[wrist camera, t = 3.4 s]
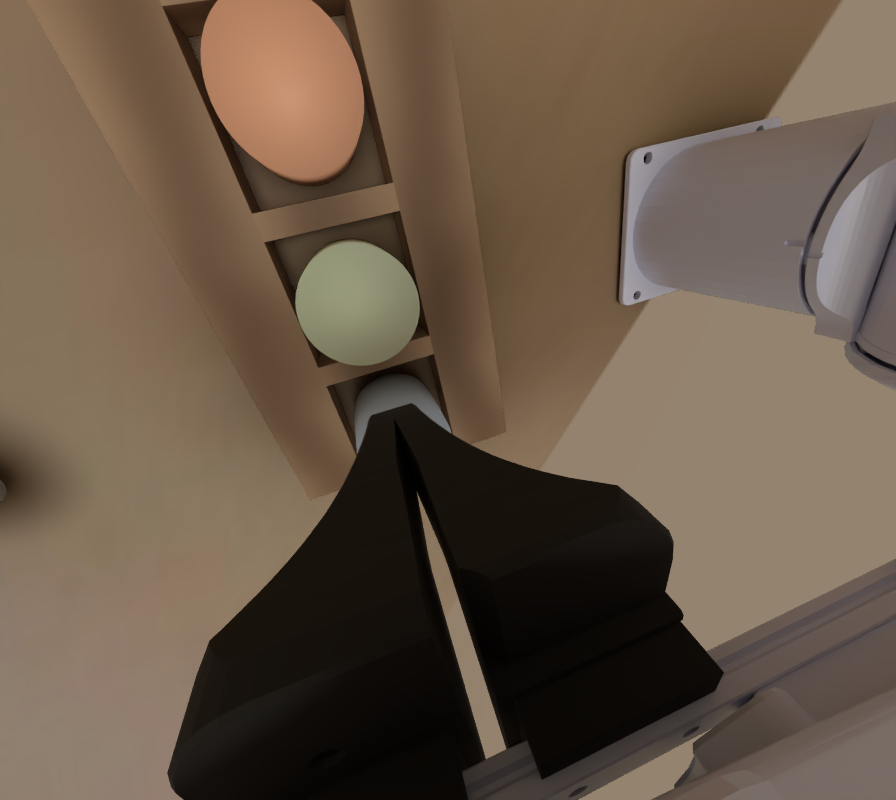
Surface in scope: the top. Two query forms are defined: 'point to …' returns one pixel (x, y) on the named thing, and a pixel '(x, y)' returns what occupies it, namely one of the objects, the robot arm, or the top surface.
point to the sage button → (357, 303)
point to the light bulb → (2, 491)
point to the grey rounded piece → (393, 401)
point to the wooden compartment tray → (298, 207)
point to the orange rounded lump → (284, 86)
